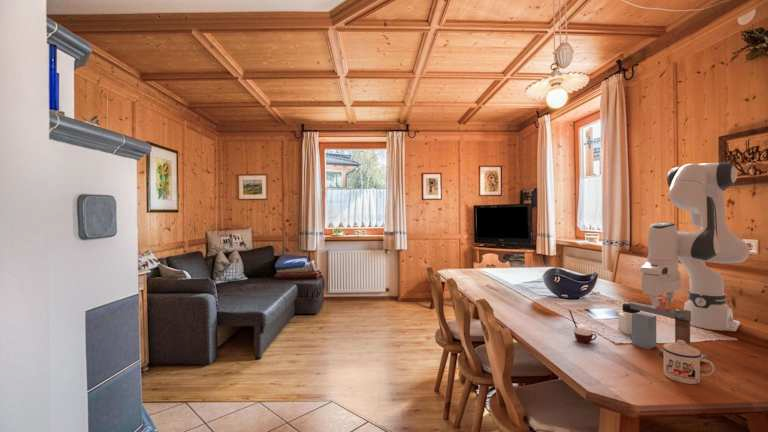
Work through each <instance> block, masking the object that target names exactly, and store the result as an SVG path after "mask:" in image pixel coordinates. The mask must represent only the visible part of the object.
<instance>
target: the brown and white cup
mask: <svg viewBox="0 0 768 432" xmlns="http://www.w3.org/2000/svg"><path fill="white" fill-rule="evenodd" d="M568 312H569V314H570V317H571V319H572V321H573V324H574V329H573V331H574V332H573V333H574V337H575V339H576V341H577V342H579V343H582V344H589V343H591V342H593V341H595V340H596V338H597V335H596V333H593V330H592V329H591V328H590V327H589V326H588V325H585V324H584V323H577V324H576V320H575V319H574V316H573V313H572V311H571V309H568ZM593 336H595V337H594V338H593Z"/></svg>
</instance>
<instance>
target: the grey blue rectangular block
mask: <svg viewBox="0 0 768 432" xmlns="http://www.w3.org/2000/svg"><path fill="white" fill-rule="evenodd" d="M631 345H632V346H633V345H634V346H636V347H638V348H639V347H640V348H643V349H646V350H650V349H653V348H655V347H657V315H656V314H652V313H647V312H643V311H640V312H638V313H634V314H632V334H631Z"/></svg>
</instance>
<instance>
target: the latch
mask: <svg viewBox="0 0 768 432" xmlns="http://www.w3.org/2000/svg"><path fill="white" fill-rule="evenodd" d="M658 302H659V306H658V307H654V306H652V305H649V304H645V303H640V302H637V301H636V302H635V301H634V302H629V303H630V308H631V309H635V310H640V312H643V313H647V314H652V315H656V316H657V315H659V316H661V317H666V318H671V319H674V320H675V319H677V320H681V321H691V311H689V310H684V308H683V309H682V308H674V310H673V309H670V303H669V299H667V298H666V297H661V296H658Z"/></svg>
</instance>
